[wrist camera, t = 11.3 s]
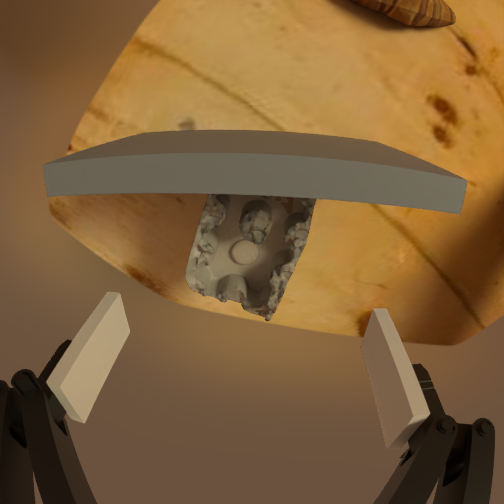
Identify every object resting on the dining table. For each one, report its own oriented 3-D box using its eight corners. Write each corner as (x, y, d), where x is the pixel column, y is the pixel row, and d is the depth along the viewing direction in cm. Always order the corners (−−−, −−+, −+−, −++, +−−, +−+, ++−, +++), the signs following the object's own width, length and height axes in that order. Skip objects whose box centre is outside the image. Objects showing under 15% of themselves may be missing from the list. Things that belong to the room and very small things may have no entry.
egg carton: (269, 297, 27) (269, 328, 23) (188, 271, 26) (176, 298, 22) (321, 188, 22) (331, 205, 18) (225, 152, 21) (216, 162, 17)
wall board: (376, 141, 27) (467, 180, 13) (363, 231, 32) (422, 326, 17) (142, 133, 28) (42, 164, 14) (149, 221, 32) (75, 306, 18)
